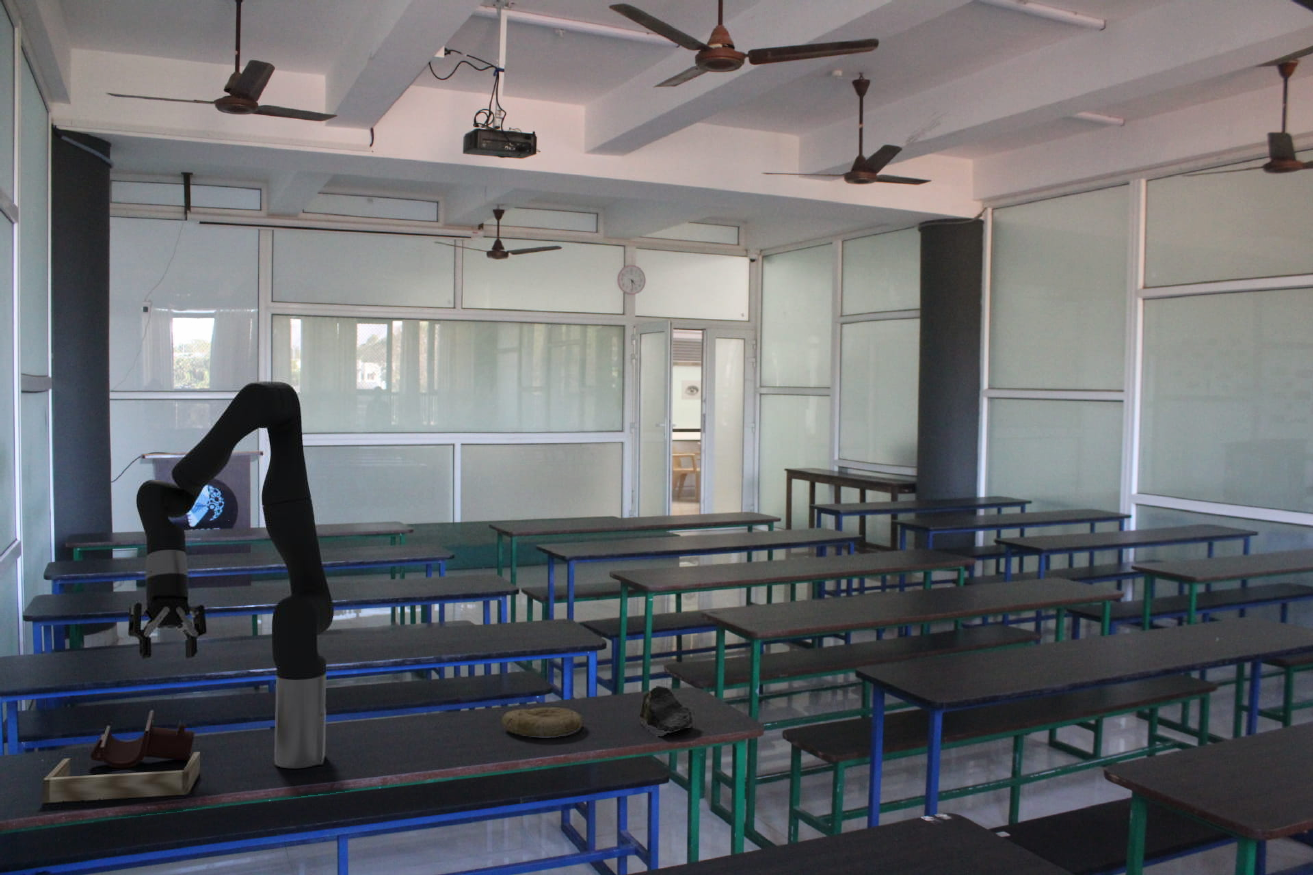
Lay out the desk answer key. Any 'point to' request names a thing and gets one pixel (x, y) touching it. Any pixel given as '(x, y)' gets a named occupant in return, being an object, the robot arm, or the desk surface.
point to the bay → (118, 783)
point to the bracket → (144, 746)
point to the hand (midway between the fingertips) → (169, 657)
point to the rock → (664, 710)
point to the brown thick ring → (542, 721)
